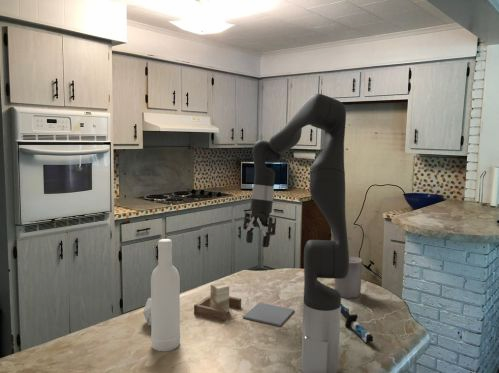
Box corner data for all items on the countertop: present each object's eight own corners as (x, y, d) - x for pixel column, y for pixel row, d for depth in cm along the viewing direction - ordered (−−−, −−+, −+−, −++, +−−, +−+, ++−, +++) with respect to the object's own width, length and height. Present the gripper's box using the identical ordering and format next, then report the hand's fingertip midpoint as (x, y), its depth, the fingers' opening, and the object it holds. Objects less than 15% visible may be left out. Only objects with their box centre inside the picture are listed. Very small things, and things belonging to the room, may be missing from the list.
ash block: (228, 311, 140) (229, 285, 139) (217, 314, 137) (218, 288, 136) (221, 307, 143) (221, 281, 142) (210, 310, 141) (210, 284, 139)
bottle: (157, 354, 111) (156, 245, 108) (147, 342, 118) (145, 239, 114) (184, 346, 116) (184, 241, 112) (173, 335, 122) (173, 235, 119)
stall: (223, 320, 132) (223, 311, 132) (194, 314, 137) (194, 305, 137) (241, 307, 144) (241, 298, 143) (213, 301, 148) (213, 293, 148)
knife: (373, 350, 118) (375, 335, 117) (362, 350, 118) (364, 336, 117) (332, 297, 148) (333, 286, 147) (324, 298, 147) (325, 286, 146)
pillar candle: (337, 287, 164) (339, 250, 162) (362, 292, 160) (364, 254, 158) (331, 295, 155) (332, 256, 154) (357, 300, 151) (359, 260, 149)
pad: (280, 326, 129) (280, 324, 129) (242, 318, 135) (242, 316, 135) (294, 311, 141) (294, 309, 141) (259, 304, 146) (259, 302, 146)
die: (137, 323, 131) (137, 307, 124) (153, 302, 137) (153, 286, 131) (159, 335, 129) (160, 320, 123) (174, 314, 135) (176, 298, 129)
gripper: (284, 201, 142) (278, 248, 142) (256, 197, 153) (251, 241, 152) (268, 199, 137) (262, 248, 137) (241, 195, 148) (235, 241, 148)
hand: (256, 244), depth 145 cm, fingers open, 8 cm apart
